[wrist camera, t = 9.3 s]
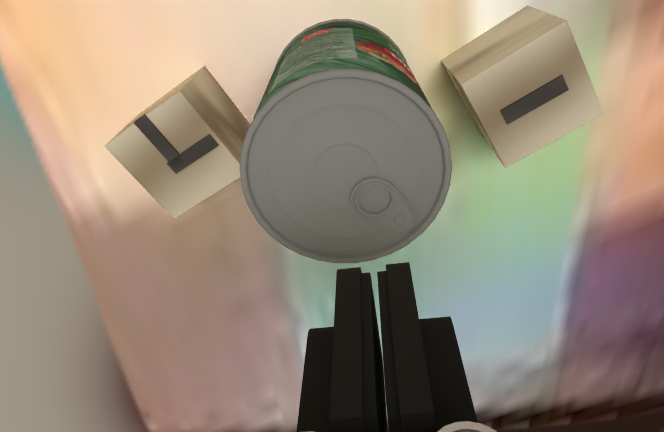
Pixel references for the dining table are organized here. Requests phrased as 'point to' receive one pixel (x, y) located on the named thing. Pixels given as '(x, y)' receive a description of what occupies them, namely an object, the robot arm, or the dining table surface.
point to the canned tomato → (344, 148)
